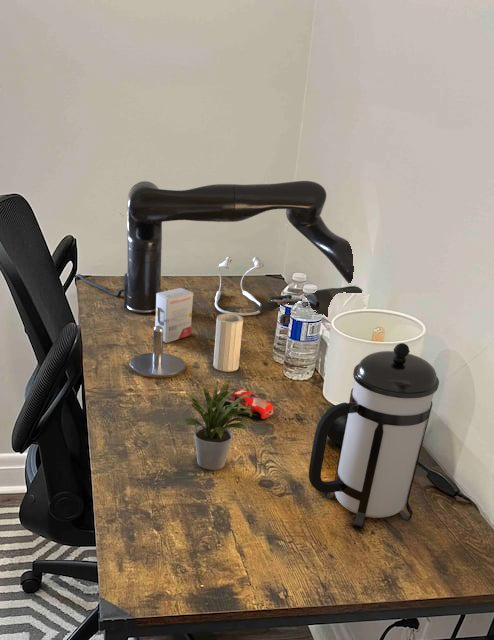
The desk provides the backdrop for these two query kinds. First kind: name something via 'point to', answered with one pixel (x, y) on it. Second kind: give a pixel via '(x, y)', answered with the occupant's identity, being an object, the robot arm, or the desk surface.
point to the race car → (249, 404)
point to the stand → (157, 360)
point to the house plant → (215, 427)
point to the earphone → (227, 265)
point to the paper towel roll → (227, 342)
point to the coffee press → (378, 434)
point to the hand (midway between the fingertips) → (270, 313)
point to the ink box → (174, 313)
